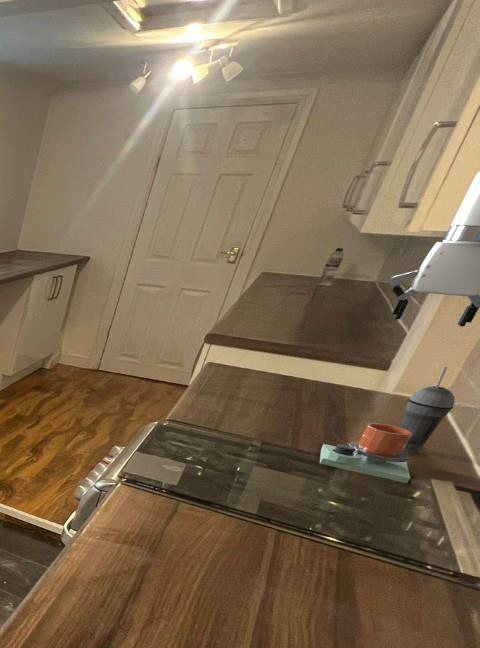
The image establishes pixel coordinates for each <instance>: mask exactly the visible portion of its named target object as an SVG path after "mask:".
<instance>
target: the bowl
mask: <svg viewBox="0 0 480 648" xmlns="http://www.w3.org/2000/svg"><path fill="white" fill-rule="evenodd" d="M411 436H412V432H410V431H408V430H405V429H403V428H399V426H395V425H391V424H385V423H378V422H377V423H375V422H374V423H373V422H370V423H367V424H366V426H365V428H364V430H363V431H362V434H361V436H360V438H359V440H358V441H357V442H358V444H359V445H360V447H361V448H362V449H364V450H367V451H370V452H373V453H378V454H383V455H397V454H400V453H402V452H404V451H403V450H404V448H405V446H406V444H407V443H408V441H409V439H410V437H411Z"/></svg>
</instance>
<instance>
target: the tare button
mask: <svg viewBox="0 0 480 648" xmlns="http://www.w3.org/2000/svg"><path fill="white" fill-rule="evenodd" d="M335 447H336V449H335V451H334V452H336V453H339V454H342V455H347V456H352V455H353V453H354V451H355V449H356V448H354V447H352V446H349V444H343V443H339V444H337V445H336V446H335Z"/></svg>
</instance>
